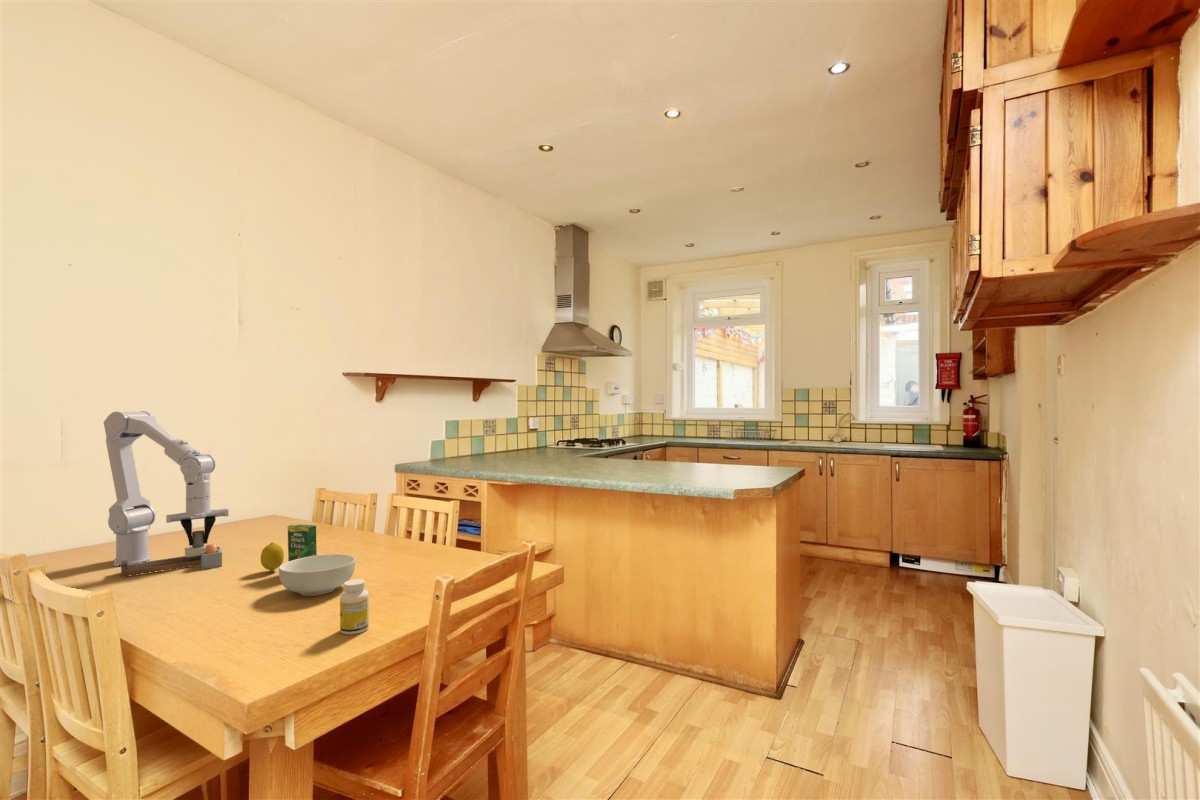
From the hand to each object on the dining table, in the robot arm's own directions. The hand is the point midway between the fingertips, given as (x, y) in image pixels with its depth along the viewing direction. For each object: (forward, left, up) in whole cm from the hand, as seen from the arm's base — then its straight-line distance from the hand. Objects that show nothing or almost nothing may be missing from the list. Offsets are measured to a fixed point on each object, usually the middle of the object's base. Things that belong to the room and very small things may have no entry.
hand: (198, 544), depth 160 cm
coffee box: (+30, +21, -6) cm, 37 cm away
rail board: (0, -6, -6) cm, 8 cm away
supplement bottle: (+79, +21, -6) cm, 82 cm away
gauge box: (+6, +3, -6) cm, 9 cm away
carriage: (0, 0, -3) cm, 3 cm away
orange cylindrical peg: (+6, +3, -3) cm, 7 cm away
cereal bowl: (+48, +21, -6) cm, 53 cm away
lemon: (+23, +15, -6) cm, 28 cm away
